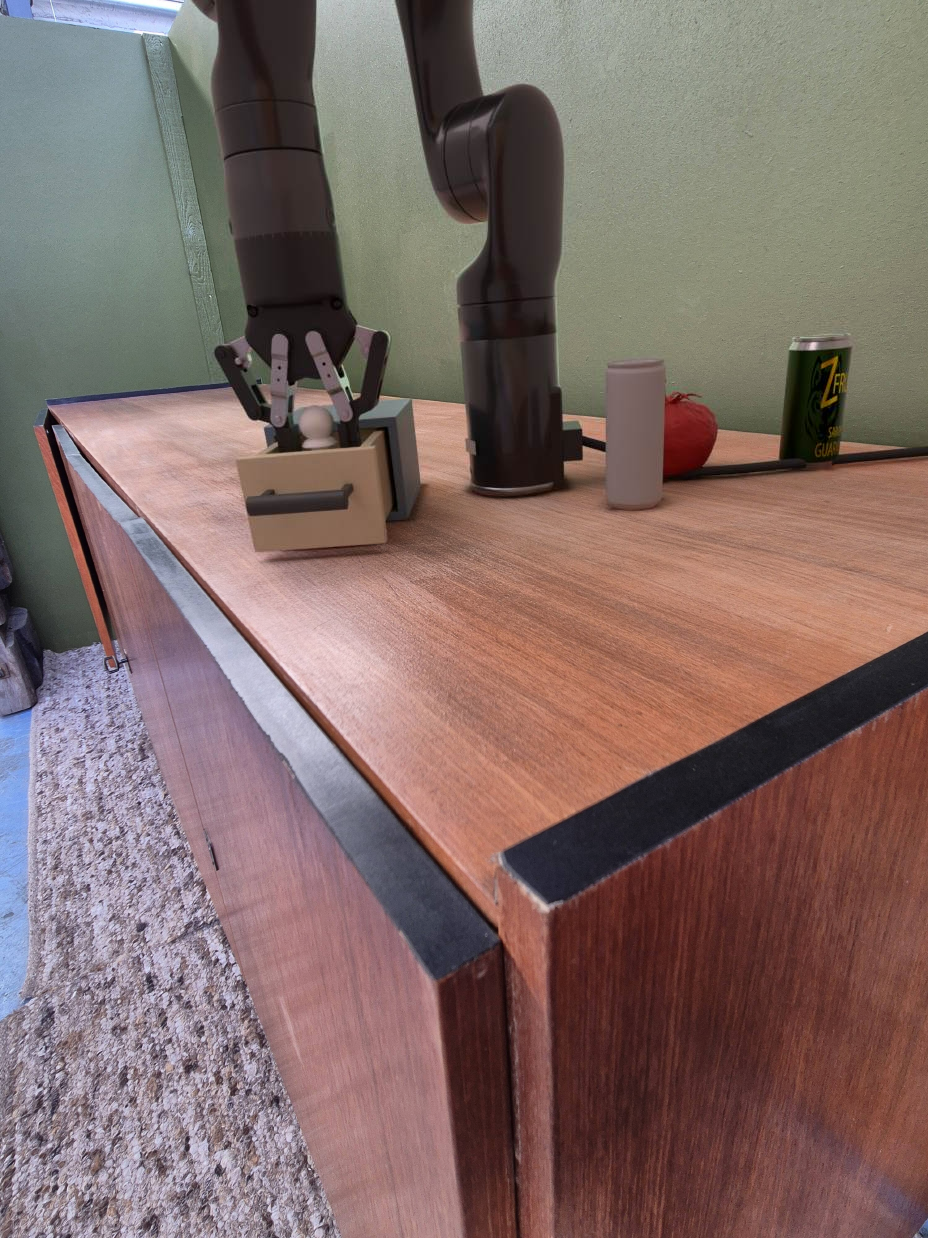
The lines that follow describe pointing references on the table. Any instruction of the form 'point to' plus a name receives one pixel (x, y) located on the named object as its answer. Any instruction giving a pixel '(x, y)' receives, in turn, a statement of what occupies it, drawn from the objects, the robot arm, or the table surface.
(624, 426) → the beverage can
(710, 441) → the red round piece
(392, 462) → the cabinet
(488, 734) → the table surface
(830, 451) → the green soda can
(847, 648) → the table surface
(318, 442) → the chess pawn
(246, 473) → the drawer
